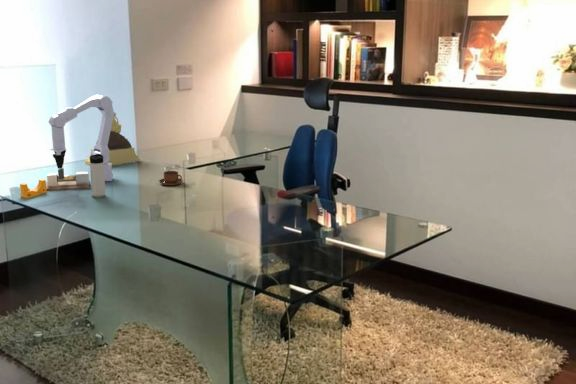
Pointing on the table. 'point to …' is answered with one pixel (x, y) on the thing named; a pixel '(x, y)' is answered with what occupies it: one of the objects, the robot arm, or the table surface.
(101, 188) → the travel mug
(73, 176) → the block with brass knob
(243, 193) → the table surface
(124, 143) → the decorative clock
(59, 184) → the walnut board
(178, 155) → the table surface
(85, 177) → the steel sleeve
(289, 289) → the table surface
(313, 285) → the table surface
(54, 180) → the white square block
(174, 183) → the cup and saucer
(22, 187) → the yellow u-shaped block
